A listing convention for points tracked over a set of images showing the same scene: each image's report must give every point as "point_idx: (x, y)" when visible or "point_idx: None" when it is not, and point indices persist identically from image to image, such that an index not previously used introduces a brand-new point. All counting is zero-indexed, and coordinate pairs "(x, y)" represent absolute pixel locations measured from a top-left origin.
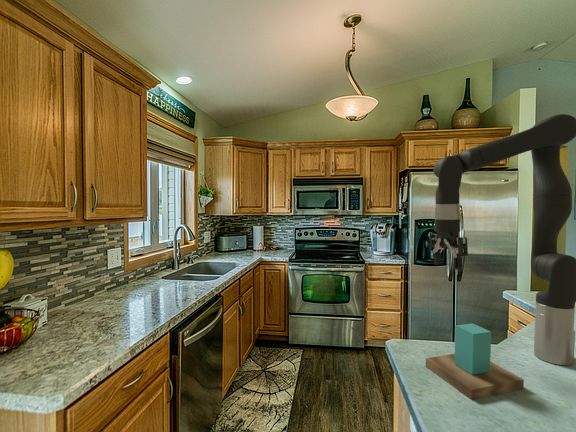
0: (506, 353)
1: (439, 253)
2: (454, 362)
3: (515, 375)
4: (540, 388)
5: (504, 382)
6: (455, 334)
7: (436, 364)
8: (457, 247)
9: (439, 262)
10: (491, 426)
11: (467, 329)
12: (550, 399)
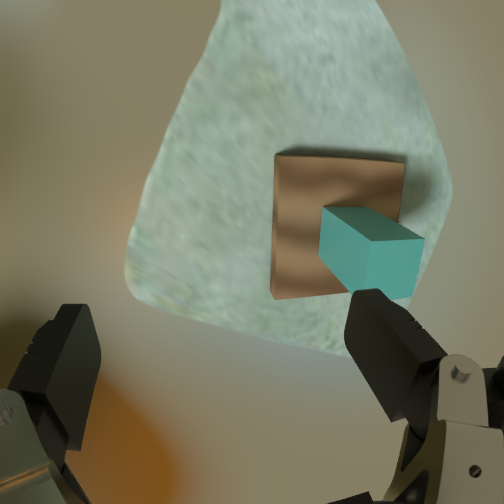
0: (273, 32)
1: (47, 414)
2: (319, 257)
3: (391, 164)
4: (399, 124)
5: (397, 211)
6: (349, 290)
7: (304, 293)
8: (462, 481)
9: (86, 333)
10: (414, 291)
11: (391, 290)
12: (420, 145)
